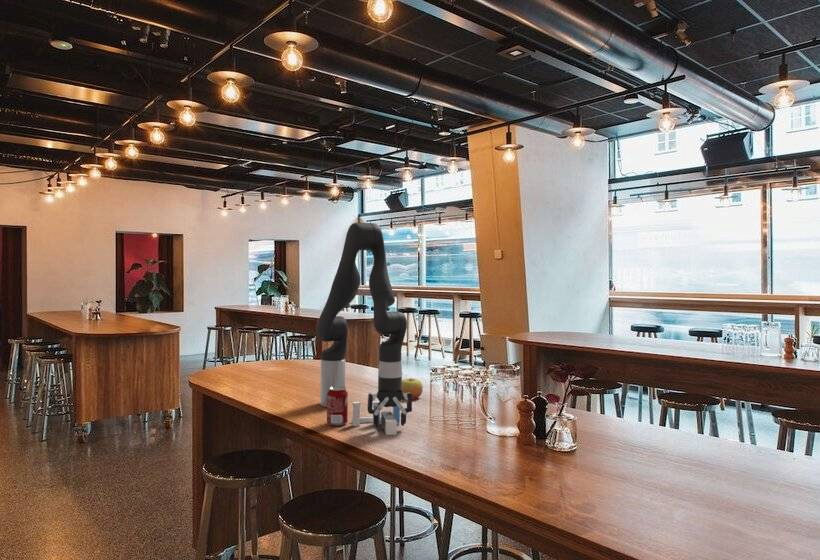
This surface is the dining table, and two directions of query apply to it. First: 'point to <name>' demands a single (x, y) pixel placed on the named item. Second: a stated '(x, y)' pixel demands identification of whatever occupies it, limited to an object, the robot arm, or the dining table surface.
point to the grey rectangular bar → (389, 423)
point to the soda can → (337, 406)
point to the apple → (412, 387)
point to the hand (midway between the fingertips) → (389, 425)
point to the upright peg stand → (357, 420)
